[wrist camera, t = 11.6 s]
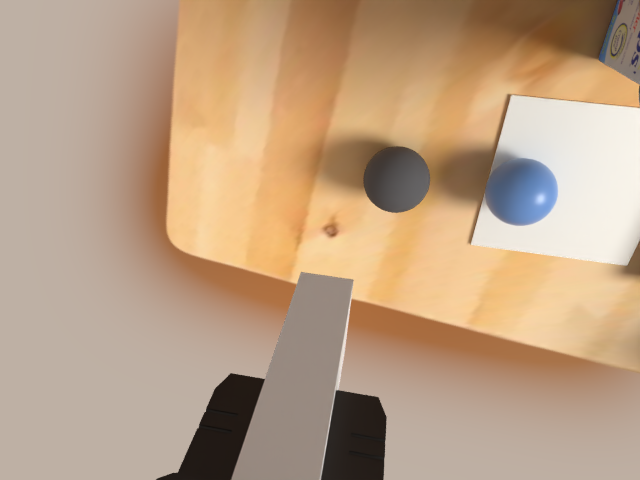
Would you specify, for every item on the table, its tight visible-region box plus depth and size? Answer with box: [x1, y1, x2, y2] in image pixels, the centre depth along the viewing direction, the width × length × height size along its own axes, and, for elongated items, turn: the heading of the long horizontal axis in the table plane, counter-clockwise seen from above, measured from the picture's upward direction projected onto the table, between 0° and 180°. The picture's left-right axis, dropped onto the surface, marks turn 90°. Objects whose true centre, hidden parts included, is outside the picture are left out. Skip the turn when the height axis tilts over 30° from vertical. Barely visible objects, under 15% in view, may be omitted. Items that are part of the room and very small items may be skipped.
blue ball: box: [485, 158, 558, 226], centre depth 39 cm, size 6×6×6 cm
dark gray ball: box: [364, 147, 430, 213], centre depth 40 cm, size 6×6×6 cm
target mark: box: [471, 95, 640, 266], centre depth 41 cm, size 14×14×1 cm
